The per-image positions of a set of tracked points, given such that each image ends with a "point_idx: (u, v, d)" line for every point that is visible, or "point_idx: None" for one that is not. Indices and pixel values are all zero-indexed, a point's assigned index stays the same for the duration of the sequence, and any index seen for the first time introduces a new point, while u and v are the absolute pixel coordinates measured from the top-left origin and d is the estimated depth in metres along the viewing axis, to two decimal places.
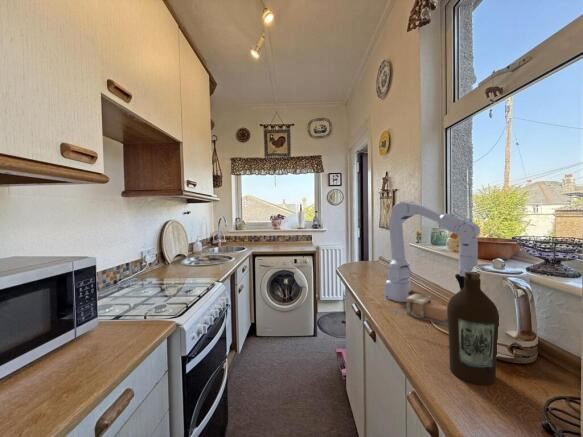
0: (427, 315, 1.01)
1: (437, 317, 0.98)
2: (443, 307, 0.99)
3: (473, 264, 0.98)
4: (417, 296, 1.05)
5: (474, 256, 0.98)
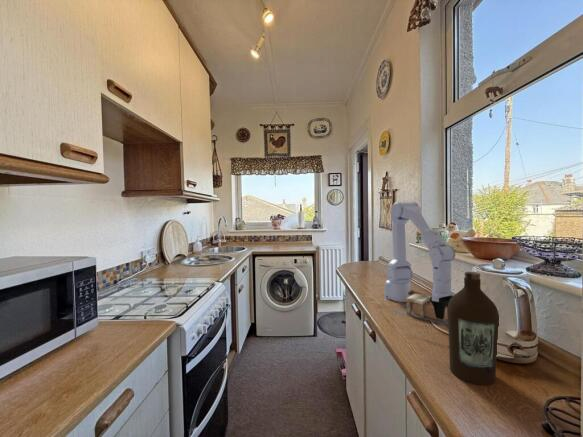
0: (427, 315, 1.01)
1: None
2: None
3: (446, 288, 0.96)
4: (417, 296, 1.05)
5: (444, 280, 0.96)
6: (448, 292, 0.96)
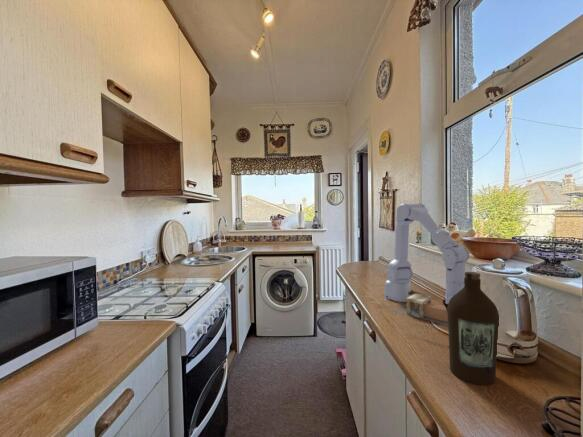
0: (439, 318, 0.98)
1: None
2: None
3: None
4: (417, 296, 1.05)
5: (458, 282, 0.93)
6: None
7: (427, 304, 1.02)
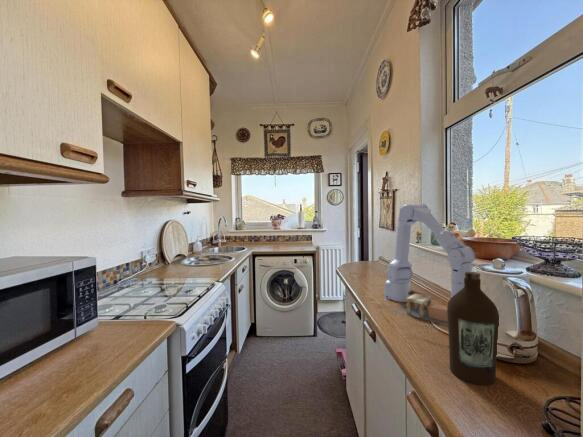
0: (444, 319, 0.97)
1: None
2: None
3: None
4: (417, 296, 1.05)
5: None
6: None
7: (432, 305, 1.01)
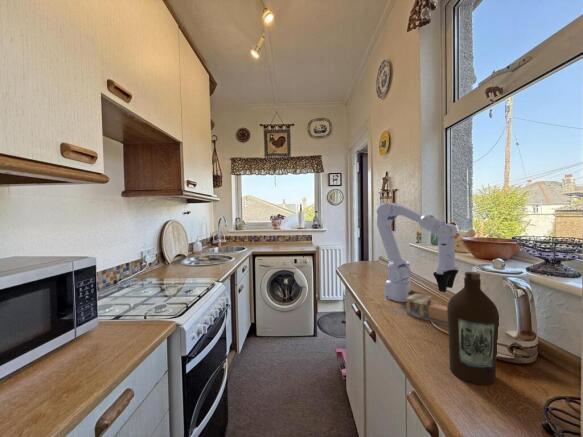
0: (444, 319, 0.97)
1: None
2: None
3: (450, 263, 1.04)
4: (417, 296, 1.05)
5: (451, 255, 1.04)
6: (452, 266, 1.04)
7: (432, 305, 1.01)
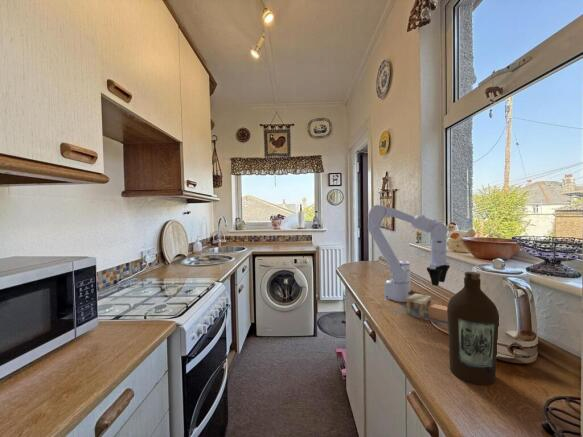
0: (444, 319, 0.97)
1: None
2: None
3: (442, 258, 1.12)
4: (417, 296, 1.05)
5: (445, 251, 1.13)
6: (443, 262, 1.12)
7: (432, 305, 1.01)
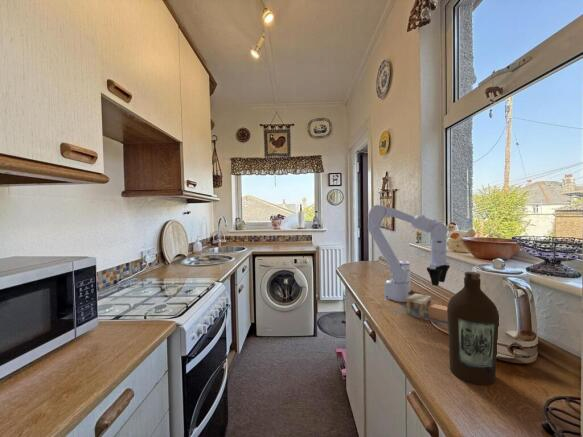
0: (444, 319, 0.97)
1: None
2: None
3: (442, 258, 1.12)
4: (417, 296, 1.05)
5: (445, 251, 1.13)
6: (443, 262, 1.12)
7: (432, 305, 1.01)
